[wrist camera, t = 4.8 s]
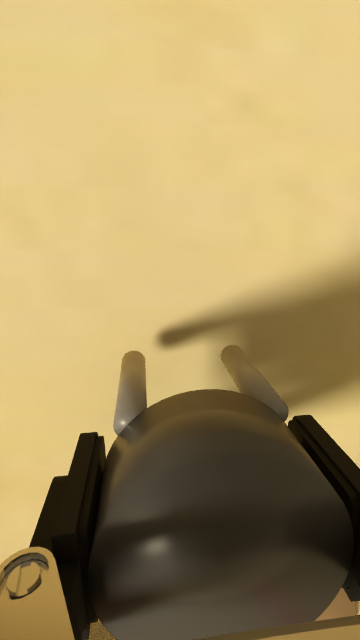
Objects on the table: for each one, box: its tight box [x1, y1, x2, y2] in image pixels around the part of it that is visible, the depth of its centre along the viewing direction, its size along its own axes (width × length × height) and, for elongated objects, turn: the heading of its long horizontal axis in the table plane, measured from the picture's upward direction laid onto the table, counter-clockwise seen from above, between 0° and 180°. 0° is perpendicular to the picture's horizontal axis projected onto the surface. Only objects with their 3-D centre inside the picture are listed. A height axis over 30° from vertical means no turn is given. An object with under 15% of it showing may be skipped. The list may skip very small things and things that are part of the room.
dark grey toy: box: [88, 345, 354, 640], centre depth 12 cm, size 6×6×8 cm
